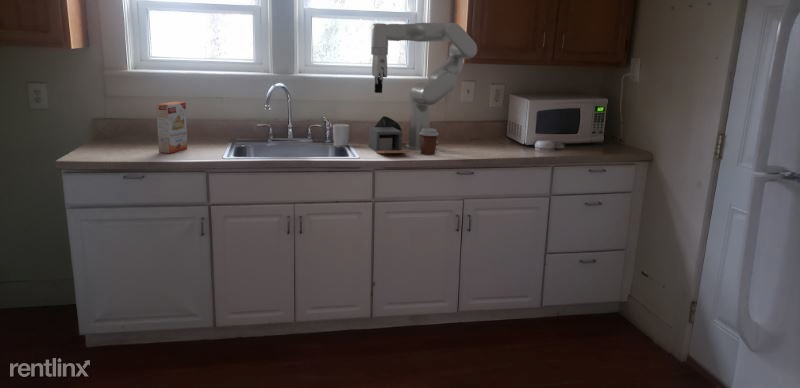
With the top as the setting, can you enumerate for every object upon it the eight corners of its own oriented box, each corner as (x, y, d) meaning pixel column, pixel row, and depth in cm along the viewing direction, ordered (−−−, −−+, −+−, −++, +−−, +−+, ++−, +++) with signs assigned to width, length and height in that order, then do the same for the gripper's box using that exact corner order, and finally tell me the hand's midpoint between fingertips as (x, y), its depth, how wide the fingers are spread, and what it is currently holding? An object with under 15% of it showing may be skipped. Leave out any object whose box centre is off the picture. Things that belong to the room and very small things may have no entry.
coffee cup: (429, 157, 271) (430, 131, 268) (413, 154, 277) (415, 128, 274) (441, 155, 278) (443, 129, 275) (426, 152, 283) (427, 127, 280)
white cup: (329, 145, 291) (329, 125, 288) (338, 143, 298) (338, 123, 295) (343, 147, 287) (343, 126, 285) (351, 145, 294) (352, 125, 292)
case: (392, 147, 292) (393, 127, 290) (401, 153, 279) (402, 131, 277) (368, 148, 289) (369, 127, 286) (376, 153, 276) (377, 131, 273)
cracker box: (171, 154, 256) (168, 104, 251) (158, 153, 257) (155, 104, 252) (188, 148, 269) (186, 101, 264) (176, 147, 270) (173, 101, 265)
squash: (408, 132, 306) (390, 109, 303) (405, 138, 291) (386, 114, 289) (387, 149, 309) (368, 127, 307) (383, 156, 295) (364, 132, 293)
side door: (402, 150, 278) (411, 150, 266) (402, 152, 278) (411, 152, 266) (376, 150, 274) (384, 150, 262) (376, 152, 274) (384, 153, 262)
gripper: (392, 52, 266) (390, 94, 270) (383, 51, 280) (381, 91, 284) (375, 52, 264) (374, 94, 268) (367, 51, 277) (366, 91, 282)
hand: (378, 92), depth 276 cm, fingers closed
